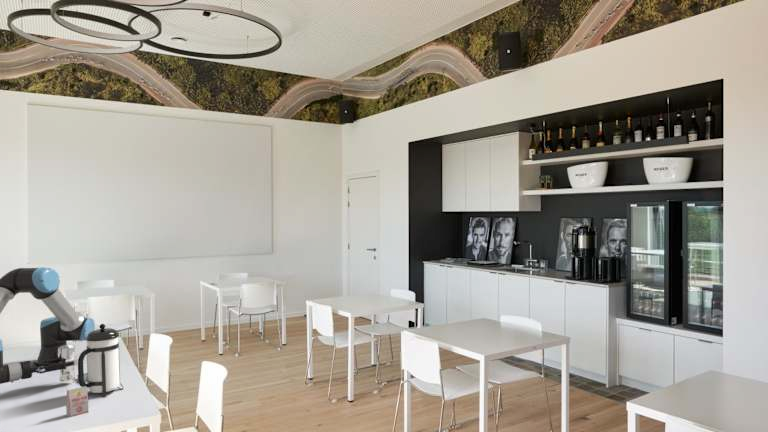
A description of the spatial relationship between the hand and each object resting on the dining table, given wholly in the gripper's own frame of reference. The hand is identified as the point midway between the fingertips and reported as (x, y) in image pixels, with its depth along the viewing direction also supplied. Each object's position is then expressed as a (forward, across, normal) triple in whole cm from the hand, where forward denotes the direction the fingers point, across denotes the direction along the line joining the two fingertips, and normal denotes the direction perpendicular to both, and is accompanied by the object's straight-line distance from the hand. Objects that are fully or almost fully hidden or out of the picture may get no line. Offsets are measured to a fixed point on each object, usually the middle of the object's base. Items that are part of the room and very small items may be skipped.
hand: (79, 359), depth 244 cm
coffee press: (+2, +26, -10) cm, 28 cm away
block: (0, 0, -9) cm, 9 cm away
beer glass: (-5, 0, -8) cm, 10 cm away
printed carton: (-12, +43, -11) cm, 46 cm away
